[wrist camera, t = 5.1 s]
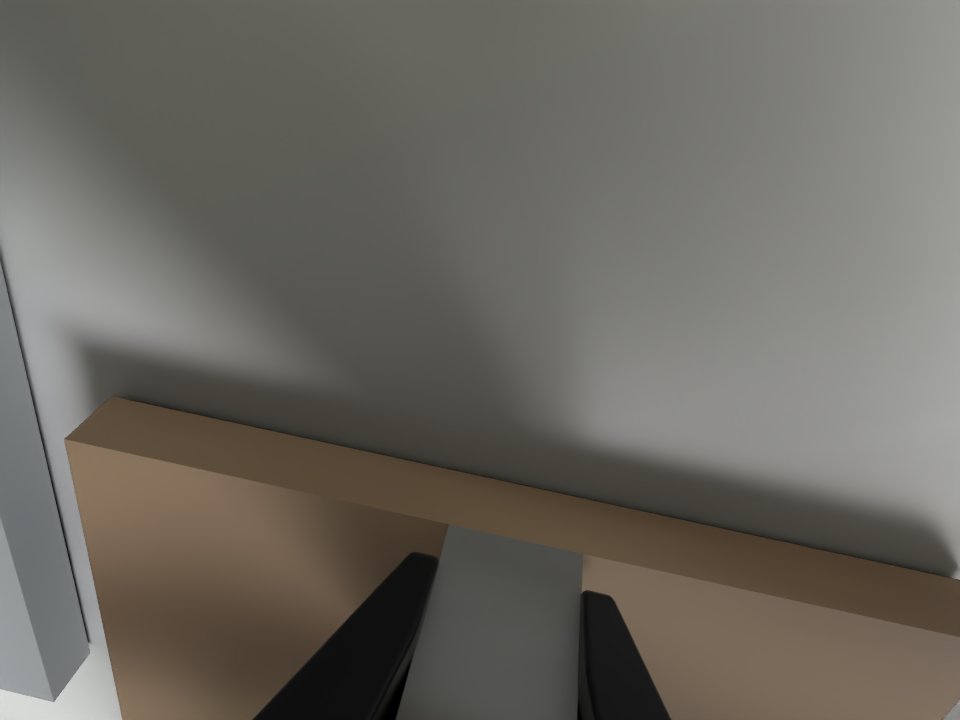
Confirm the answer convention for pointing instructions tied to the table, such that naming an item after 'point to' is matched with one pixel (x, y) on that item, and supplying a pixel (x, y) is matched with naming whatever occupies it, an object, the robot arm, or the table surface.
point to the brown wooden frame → (469, 586)
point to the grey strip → (31, 544)
